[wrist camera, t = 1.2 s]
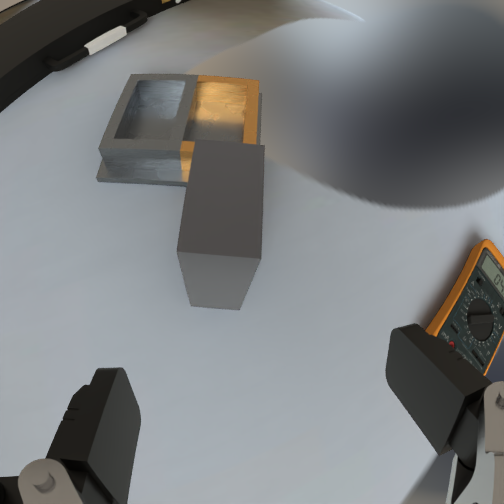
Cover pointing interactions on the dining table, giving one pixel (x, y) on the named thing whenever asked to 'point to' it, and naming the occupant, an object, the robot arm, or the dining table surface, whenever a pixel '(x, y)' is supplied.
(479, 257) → the multimeter
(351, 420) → the dining table surface
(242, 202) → the grey rectangular block
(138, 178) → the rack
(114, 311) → the dining table surface
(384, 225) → the dining table surface
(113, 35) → the briefcase
